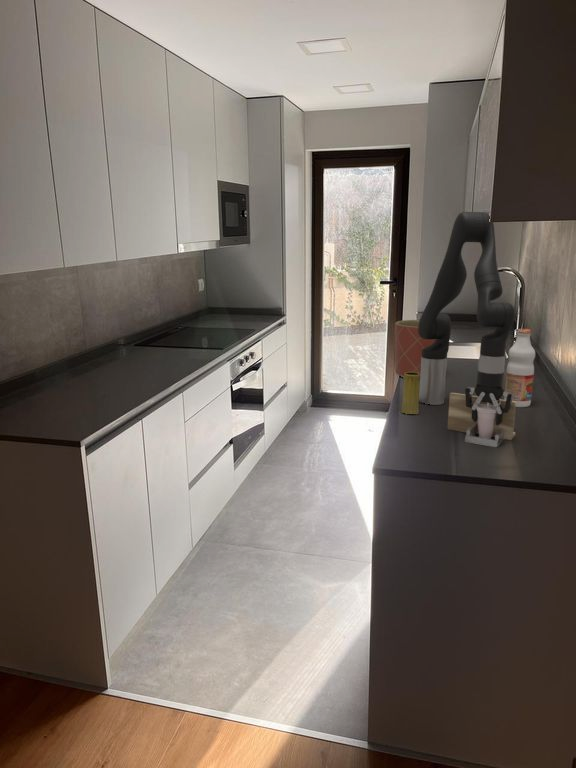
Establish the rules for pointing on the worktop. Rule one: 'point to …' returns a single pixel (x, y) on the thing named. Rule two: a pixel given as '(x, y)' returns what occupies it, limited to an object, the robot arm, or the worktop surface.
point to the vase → (411, 393)
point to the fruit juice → (521, 369)
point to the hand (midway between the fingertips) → (486, 422)
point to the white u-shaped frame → (474, 439)
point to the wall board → (463, 418)
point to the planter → (409, 347)
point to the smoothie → (486, 420)
